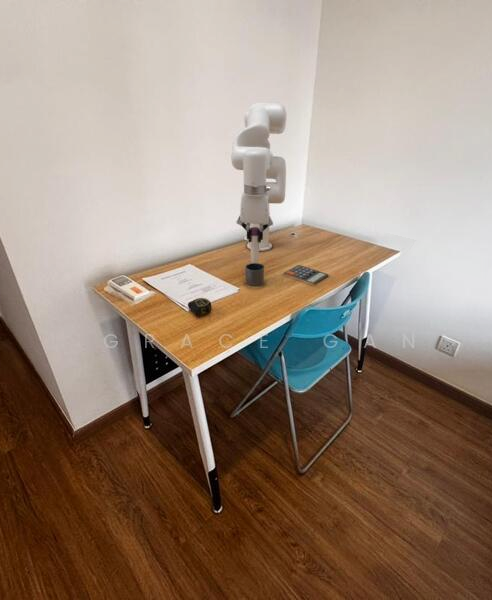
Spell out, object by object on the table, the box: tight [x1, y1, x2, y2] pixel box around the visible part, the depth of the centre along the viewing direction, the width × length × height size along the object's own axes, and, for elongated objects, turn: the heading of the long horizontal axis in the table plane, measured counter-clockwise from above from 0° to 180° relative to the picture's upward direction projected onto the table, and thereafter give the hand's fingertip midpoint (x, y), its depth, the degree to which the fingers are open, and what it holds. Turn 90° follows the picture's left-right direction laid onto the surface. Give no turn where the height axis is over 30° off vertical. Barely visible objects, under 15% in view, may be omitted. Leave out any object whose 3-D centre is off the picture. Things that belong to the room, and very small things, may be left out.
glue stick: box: [250, 227, 260, 263], centre depth 119 cm, size 3×3×13 cm
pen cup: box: [244, 262, 265, 288], centre depth 125 cm, size 7×7×8 cm
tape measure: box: [187, 297, 212, 317], centre depth 107 cm, size 7×7×4 cm
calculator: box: [283, 264, 329, 286], centre depth 135 cm, size 12×1×15 cm
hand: (254, 240), depth 118 cm, fingers closed on glue stick, 3 cm apart
